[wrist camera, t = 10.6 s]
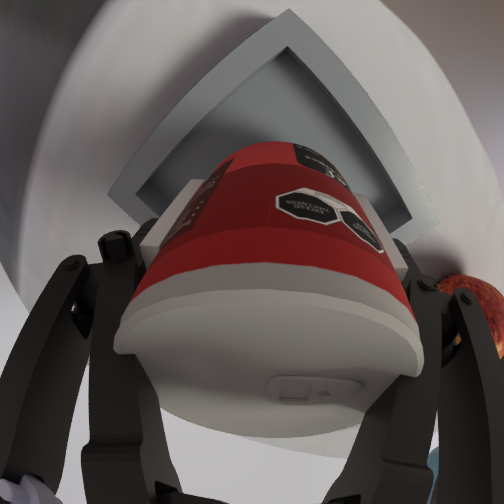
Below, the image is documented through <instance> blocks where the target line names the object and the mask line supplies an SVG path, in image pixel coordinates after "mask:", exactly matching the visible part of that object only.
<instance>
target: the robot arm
mask: <svg viewBox="0 0 504 504" xmlns="http://www.w3.org/2000/svg"><path fill="white" fill-rule="evenodd" d="M204 184H205V180H201V179H191V180H190V181H189V183H188V184H187V185H186V186H185V187H184V189H183V190H182V191H181V192H180V193H179V195H178V196H177V197H176V198H175V199H174V201H173V202H172V203H171V204H170V206H169V207H168V208H167V209H166V211H165V212H164V213H163V214H162V216H161V217H160V218H151V219H150V220H148V221H146V222H145V223H144V224H143V225H142V226H141V227H140V229H139V230H138V231H137V232H136V233H135V235H134V236H133V237H132V238H131V236H130V233H129V232H127V231H123V230H117V231H112V232H109V233H107V234H105V235H103V236H102V237H101V238H100V239H99V241H98V242H97V243H98V246H99V249H100V253H101V256H102V259H103V263H96V264H88V263H87V261H86V258H85V257H84V256H83V255H72V256H69V257H67V258H66V259H65V260H63V261H62V262H61V263H60V265H59V266H58V268H57V269H56V271H55V272H54V274H53V275H52V277H51V278H50V280H49V282H48V283H47V285H46V286H45V288H44V290H43V291H42V293H41V295H40V296H39V298H38V300H37V302H36V303H35V305H34V307H33V309H32V311H31V312H30V314H29V316H28V318H27V320H26V322H25V324H24V326H23V328H22V330H21V332H20V334H19V336H18V338H17V340H16V342H15V344H14V347H13V349H12V351H11V353H10V355H9V358H8V360H7V362H6V365H5V367H4V370H3V372H2V375H1V377H0V504H63V503H62V502H61V500H59V499H58V498H56V497H55V495H56V492H57V490H58V488H59V484H60V481H61V477H62V472H63V467H64V462H65V455H66V449H67V442H68V437H69V432H70V427H71V422H72V417H73V413H74V409H75V405H76V400H77V396H78V393H79V389H80V385H81V382H82V378H83V375H84V371H85V368H86V365H87V361H88V358H89V355H90V364H89V429H90V440H89V443H88V444H86V445H85V446H84V447H83V449H82V451H81V468H82V475H83V482H84V489H85V495H86V500H87V504H228V503H226V502H223V501H219V500H215V499H209V498H204V497H198V496H193V495H189V494H184V493H183V492H182V488H181V485H180V482H179V478H178V475H177V473H176V470H175V468H174V466H173V464H172V462H171V459H170V455H169V451H168V446H167V442H166V437H165V432H164V427H163V422H162V416H161V411H160V405H159V399H158V395H157V393H156V391H155V389H154V387H153V385H152V383H151V381H150V379H149V378H148V376H147V374H146V372H145V370H144V368H143V367H142V365H141V363H140V362H139V360H138V358H137V356H136V355H135V354H118V353H116V352H115V351H114V350H113V347H114V337H115V335H116V333H117V331H118V329H119V327H120V321H121V317H122V315H123V314H124V312H125V310H126V308H127V306H128V304H129V303H130V301H131V299H132V297H133V295H134V293H135V291H136V289H137V287H138V285H139V283H140V282H141V280H142V278H143V276H144V275H145V273H146V271H147V270H148V268H149V267H150V265H151V263H152V262H153V260H154V258H155V257H156V255H157V254H158V252H159V250H160V249H161V247H162V246H163V244H164V243H165V241H166V240H167V238H168V236H169V235H170V233H171V232H172V230H173V229H174V227H175V226H176V224H177V223H178V221H179V220H180V218H181V217H182V215H183V214H184V212H185V211H186V209H187V208H188V207H189V205H190V204H191V202H192V201H193V199H194V198H195V197H196V195H197V194H198V192H199V191H200V189H201V188H202V187H203V185H204ZM353 194H354V195H355V197H356V199H357V200H358V202H359V204H360V205H361V207H362V209H363V210H364V212H365V214H366V216H367V217H368V219H369V221H370V223H371V225H372V226H373V228H374V230H375V232H376V234H377V235H378V237H379V239H380V241H381V243H382V245H383V247H384V249H385V251H386V253H387V255H388V257H389V259H390V261H391V263H392V265H393V267H394V269H395V271H396V273H397V275H398V277H399V279H400V281H401V284H402V286H403V288H404V290H405V293H406V296H407V299H408V302H409V304H410V307H411V309H412V311H413V314H414V316H415V319H416V322H417V324H418V328H419V335H420V341H421V343H422V346H423V354H424V364H423V368H422V371H421V374H420V375H418V376H417V377H411V376H407V375H402V374H400V375H399V376H398V377H397V378H396V379H395V380H394V381H393V383H392V384H391V385H390V386H389V387H388V388H387V389H386V390H385V391H384V392H383V393H382V394H381V395H380V396H379V397H378V399H377V400H376V401H375V402H374V403H373V404H372V405H371V407H370V408H369V409H368V410H367V411H366V412H365V415H364V417H363V420H362V423H361V426H360V429H359V432H358V434H357V437H356V440H355V442H354V445H353V447H352V450H351V452H350V455H349V457H348V459H347V462H346V464H345V466H344V469H343V471H342V473H341V474H340V476H339V477H338V478H337V479H336V480H335V482H334V483H333V484H332V486H331V488H330V489H329V491H328V493H327V494H326V496H325V498H324V500H323V502H322V504H504V355H503V356H502V358H501V359H500V357H499V354H498V351H497V348H496V345H495V342H494V339H493V336H492V333H491V330H490V328H489V325H488V322H487V320H486V317H485V315H484V312H483V310H482V308H481V305H480V303H479V301H478V299H477V297H476V296H475V294H474V293H473V292H472V291H471V290H469V289H467V288H464V287H458V288H456V290H455V291H454V293H453V295H450V294H447V293H444V292H441V291H440V289H439V286H438V284H437V283H436V282H435V281H434V280H433V279H432V278H430V277H428V276H426V275H423V274H421V272H420V270H419V269H418V267H417V265H416V263H415V262H414V260H413V259H412V256H411V255H410V253H409V251H408V250H407V248H406V246H405V245H404V244H403V243H402V242H401V241H400V240H398V239H396V238H391V236H390V234H389V233H388V231H387V229H386V228H385V226H384V224H383V223H382V221H381V220H380V218H379V216H378V215H377V213H376V212H375V210H374V209H373V207H372V205H371V204H370V202H369V201H368V199H367V198H366V196H365V195H364V194H358V193H353ZM73 304H74V306H75V308H74V310H73V311H71V310H72V306H73ZM459 334H460V337H461V341H460V342H459V344H457V342H456V338H457V337H458V336H459ZM436 412H437V413H438V432H439V446H438V447H436V448H435V449H434V450H432V451H431V453H430V454H429V450H430V446H431V441H432V436H433V431H434V425H435V419H436Z"/></svg>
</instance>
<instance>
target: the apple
mask: <svg viewBox="0 0 504 504" xmlns="http://www.w3.org/2000/svg"><path fill="white" fill-rule="evenodd" d="M438 286H439V289H440V291H441V292H444V293H447V294H450V295H453V293H454V291H455V290H456V288H458V287H464V288H467V289H469V290H471V291H472V292H473V293H474V294H475V296H476V297H477V299H478V301H479V303H480V305H481V308H482V310H483V312H484V315H485V317H486V320H487V322H488V325H489V328H490V330H491V333H492V336H493V339H494V342H495V345H496V348H497V351H498V354H499V357H500V359H501V358H502V356H503V355H504V297H503V295H502V294H501V293H500V292H499V291H498V290H497V289H496V288H495V287H493V286H492V285H491V284H489V283H487V282H485V281H482V280H480V279H477V278H474V277H471V276H466V275H461V274H455V275H451V276H449V277H447V278H445V279H444V280H442V281H441V282H440V283H439V284H438ZM460 341H461V337H460V334H459V336H458V337H457V338H456V342H457V344H459V342H460Z"/></svg>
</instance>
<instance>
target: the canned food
mask: <svg viewBox="0 0 504 504" xmlns="http://www.w3.org/2000/svg"><path fill="white" fill-rule="evenodd" d="M113 350H114V351H115V352H116V353H118V354H135V355H136V356H137V358H138V360H139V362H140V363H141V365H142V367H143V368H144V370H145V372H146V374H147V376H148V378H149V379H150V381H151V383H152V385H153V387H154V389H155V391H156V393H157V395H158V399H159V405H160V408H162V409H164V410H166V411H167V412H169V413H171V414H173V415H175V416H177V417H179V418H182V419H184V420H186V421H189V422H192V423H194V424H197V425H200V426H203V427H206V428H210V429H214V430H218V431H221V432H226V433H231V434H237V435H243V436H252V437H265V438H291V437H303V436H312V435H318V434H324V433H329V432H333V431H337V430H341V429H344V428H348V427H351V426H353V425H356V424H359V423H361V422H362V420H363V417H364V415H365V412H366V411H367V410H368V409H369V408H370V407H371V405H372V404H373V403H374V402H375V401H376V400H377V399H378V397H379V396H380V395H381V394H382V393H383V392H384V391H385V390H386V389H387V388H388V387H389V386H390V385H391V384H392V383H393V381H394V380H395V379H396V378H397V377H398V376H399V375H400V374H402V375H407V376H411V377H417V376H418V375H420V374H421V371H422V368H423V364H424V354H423V346H422V343H421V341H420V335H419V328H418V324H417V322H416V319H415V316H414V314H413V311H412V309H411V307H410V304H409V302H408V299H407V296H406V293H405V290H404V288H403V286H402V284H401V281H400V279H399V277H398V275H397V273H396V271H395V269H394V267H393V265H392V263H391V261H390V259H389V257H388V255H387V253H386V251H385V249H384V247H383V245H382V243H381V241H380V239H379V237H378V235H377V234H376V232H375V230H374V228H373V226H372V225H371V223H370V221H369V219H368V217H367V216H366V214H365V212H364V210H363V209H362V207H361V205H360V204H359V202H358V200H357V199H356V197H355V195H354V194H353V192H352V190H351V189H350V187H349V186H348V184H347V183H346V181H345V179H344V178H343V176H342V175H341V174H340V172H339V171H338V170H337V168H336V167H335V166H334V165H333V164H332V163H331V162H330V161H329V160H327V159H326V158H325V157H324V156H323V155H321V154H319V153H318V152H316V151H314V150H312V149H310V148H308V147H305V146H302V145H298V144H295V143H291V142H280V141H271V142H262V143H257V144H253V145H250V146H247V147H244V148H242V149H240V150H238V151H236V152H234V153H233V154H231V155H229V156H228V157H227V158H226V159H225V160H224V161H222V162H221V163H220V164H219V165H218V166H217V168H216V169H215V170H214V172H213V173H212V174H211V176H210V177H209V178H208V180H207V181H206V183H205V184H204V185H203V187H202V188H201V189H200V191H199V192H198V194H197V195H196V197H195V198H194V199H193V201H192V202H191V204H190V205H189V207H188V208H187V209H186V211H185V212H184V214H183V215H182V217H181V218H180V220H179V221H178V223H177V224H176V226H175V227H174V229H173V230H172V232H171V233H170V235H169V236H168V238H167V240H166V241H165V243H164V244H163V246H162V247H161V249H160V250H159V252H158V254H157V255H156V257H155V258H154V260H153V262H152V263H151V265H150V267H149V268H148V270H147V271H146V273H145V275H144V276H143V278H142V280H141V282H140V283H139V285H138V287H137V289H136V291H135V293H134V295H133V297H132V299H131V301H130V303H129V304H128V306H127V308H126V310H125V312H124V314H123V315H122V317H121V321H120V327H119V329H118V331H117V333H116V335H115V337H114V347H113Z"/></svg>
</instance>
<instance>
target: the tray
mask: <svg viewBox="0 0 504 504" xmlns="http://www.w3.org/2000/svg"><path fill="white" fill-rule="evenodd" d="M271 141H280V142H291V143H295V144H298V145H302V146H305V147H308V148H310V149H312V150H314V151H316V152H318V153H319V154H321V155H323V156H324V157H325V158H326V159H327V160H329V161H330V162H331V163H332V164H333V165H334V166H335V167H336V168H337V170H338V171H339V172H340V174H341V175H342V176H343V178H344V179H345V181H346V183H347V184H348V186H349V187H350V189H351V190H352V192H353V193H358V194H364V195H365V196H366V198H367V199H368V201H369V202H370V204H371V205H372V207H373V209H374V210H375V212H376V213H377V215H378V216H379V218H380V220H381V221H382V223H383V224H384V226H385V228H386V229H387V231H388V233H389V234H390V236H391V238H396V239H398V240H400V241H401V242H402V243H403V244H404V245H405V246H406V245H408V244H409V243H411V242H412V241H414V240H415V239H417V238H418V237H420V236H421V235H423V234H424V233H426V232H427V231H428V230H430V229H431V228H433V227H434V226H436V225H437V224H438V223H439V221H438V219H437V216H436V214H435V212H434V209H433V207H432V205H431V203H430V200H429V198H428V196H427V194H426V192H425V190H424V187H423V185H422V183H421V181H420V179H419V177H418V175H417V173H416V171H415V170H414V168H413V166H412V164H411V162H410V160H409V158H408V157H407V155H406V153H405V151H404V149H403V148H402V146H401V144H400V143H399V141H398V139H397V138H396V136H395V134H394V133H393V131H392V129H391V128H390V126H389V125H388V123H387V122H386V120H385V119H384V117H383V116H382V114H381V113H380V111H379V110H378V108H377V107H376V105H375V104H374V103H373V101H372V100H371V98H370V97H369V96H368V94H367V93H366V91H365V90H364V89H363V87H362V86H361V85H360V84H359V82H358V81H357V80H356V78H355V77H354V76H353V75H352V73H351V72H350V71H349V70H348V69H347V67H346V66H345V65H344V64H343V63H342V61H341V60H340V59H339V58H338V57H337V56H336V55H335V53H334V52H333V51H332V50H331V49H330V48H329V47H328V46H327V45H326V44H325V43H324V41H323V40H322V39H321V38H320V37H319V36H318V35H317V34H316V33H315V32H314V31H313V30H312V29H311V28H310V27H309V26H308V25H307V24H306V23H305V22H304V21H303V20H301V19H300V18H299V17H298V16H297V15H296V14H295V13H294V12H293V11H292V10H290V9H287V10H286V11H284V12H283V13H281V14H280V15H279V16H277V17H276V18H274V19H273V20H271V21H270V22H269V23H267V24H266V25H265V26H263V27H262V28H261V29H259V30H258V31H257V32H255V33H254V34H253V35H251V36H250V37H249V38H248V39H246V40H245V41H244V42H243V43H241V44H240V45H239V46H238V47H237V48H235V49H234V50H233V51H232V52H231V53H230V54H228V55H227V56H226V57H225V58H224V59H223V60H222V61H220V62H219V63H218V64H217V65H216V66H215V67H214V68H213V69H212V70H211V71H210V72H209V73H207V74H206V75H205V76H204V77H203V78H202V79H201V80H200V81H199V82H198V83H197V84H196V85H195V86H194V87H193V88H192V89H191V90H190V91H189V92H188V93H187V94H186V95H185V96H184V97H183V99H182V100H181V101H180V102H179V103H178V104H177V105H176V106H175V107H174V108H173V109H172V110H171V112H170V113H169V114H168V115H167V116H166V117H165V118H164V119H163V121H162V122H161V123H160V124H159V125H158V126H157V128H156V129H155V130H154V131H153V132H152V134H151V135H150V136H149V137H148V139H147V140H146V141H145V142H144V144H143V145H142V146H141V147H140V149H139V150H138V151H137V153H136V154H135V155H134V157H133V158H132V159H131V161H130V162H129V163H128V165H127V166H126V167H125V169H124V170H123V172H122V173H121V174H120V176H119V177H118V179H117V180H116V182H115V183H114V184H113V186H112V187H111V189H110V190H109V192H108V193H107V195H108V196H109V197H110V198H111V199H112V200H114V201H115V202H116V203H117V204H118V205H119V206H120V207H121V208H122V209H123V210H124V211H125V212H126V213H127V214H129V215H130V216H131V217H132V218H133V219H134V220H135V221H136V222H137V223H138V224H139V225H141V226H142V225H143V224H144V223H145V222H146V221H148V220H150V219H151V218H160V217H161V216H162V214H163V213H164V212H165V211H166V209H167V208H168V207H169V206H170V204H171V203H172V202H173V201H174V199H175V198H176V197H177V196H178V195H179V193H180V192H181V191H182V190H183V189H184V187H185V186H186V185H187V184H188V183H189V181H190V180H191V179H201V180H205V183H206V181H207V180H208V178H209V177H210V176H211V174H212V173H213V172H214V170H215V169H216V168H217V166H218V165H219V164H220V163H221V162H222V161H224V160H225V159H226V158H227V157H228V156H229V155H231V154H233V153H234V152H236V151H238V150H240V149H242V148H244V147H247V146H250V145H253V144H257V143H262V142H271Z"/></svg>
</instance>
